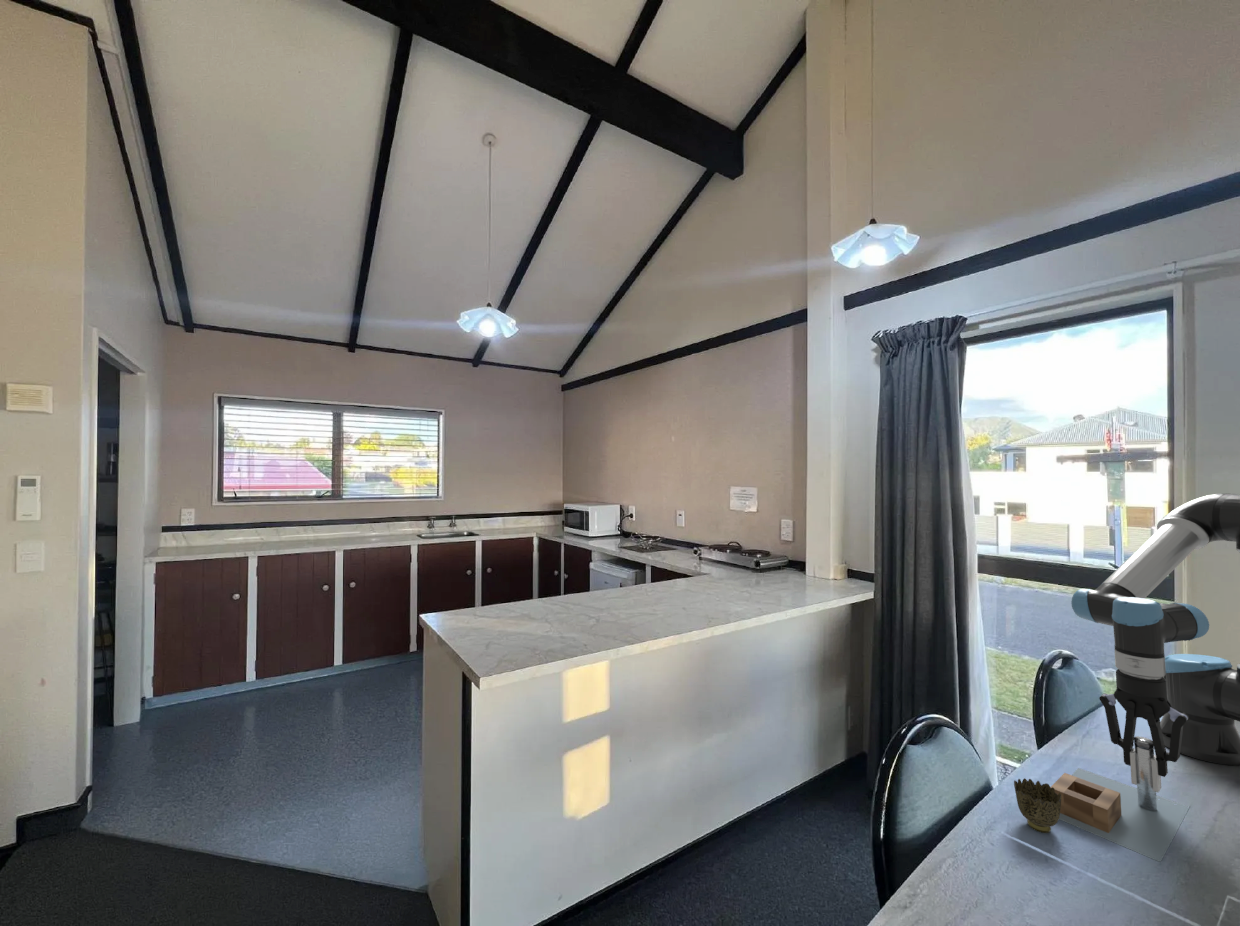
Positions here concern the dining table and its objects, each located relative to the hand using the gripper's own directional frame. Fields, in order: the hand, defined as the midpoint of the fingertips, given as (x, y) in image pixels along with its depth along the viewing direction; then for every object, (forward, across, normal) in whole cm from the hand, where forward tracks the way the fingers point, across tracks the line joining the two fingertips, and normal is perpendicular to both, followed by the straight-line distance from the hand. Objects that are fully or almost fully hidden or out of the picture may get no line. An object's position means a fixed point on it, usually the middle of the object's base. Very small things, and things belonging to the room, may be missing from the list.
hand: (1146, 785), depth 108 cm
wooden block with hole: (+5, -7, -12) cm, 15 cm away
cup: (+5, -11, -25) cm, 28 cm away
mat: (+5, -4, -6) cm, 9 cm away
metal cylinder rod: (+5, 0, 0) cm, 5 cm away
